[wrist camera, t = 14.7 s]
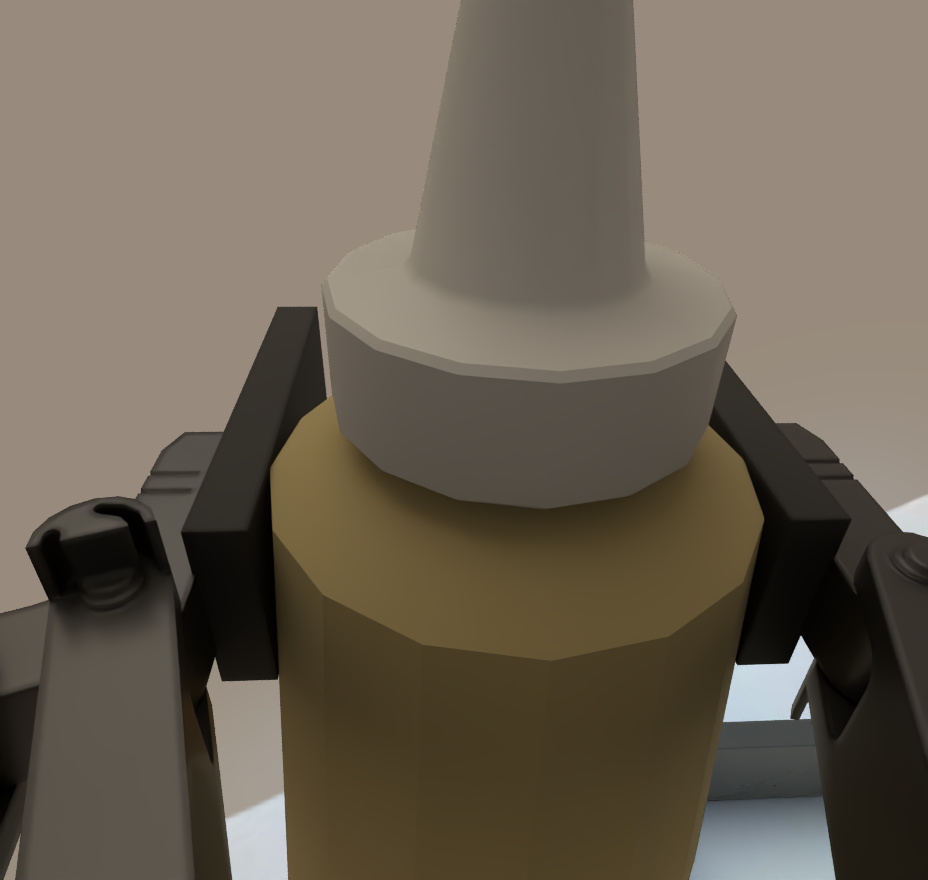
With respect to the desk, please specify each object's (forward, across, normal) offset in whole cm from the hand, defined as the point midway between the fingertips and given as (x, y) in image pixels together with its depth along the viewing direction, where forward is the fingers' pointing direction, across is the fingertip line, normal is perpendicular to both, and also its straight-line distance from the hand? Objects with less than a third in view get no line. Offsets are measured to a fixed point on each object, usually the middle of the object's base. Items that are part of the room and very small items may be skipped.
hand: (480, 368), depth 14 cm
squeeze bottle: (-5, 0, -11) cm, 12 cm away
